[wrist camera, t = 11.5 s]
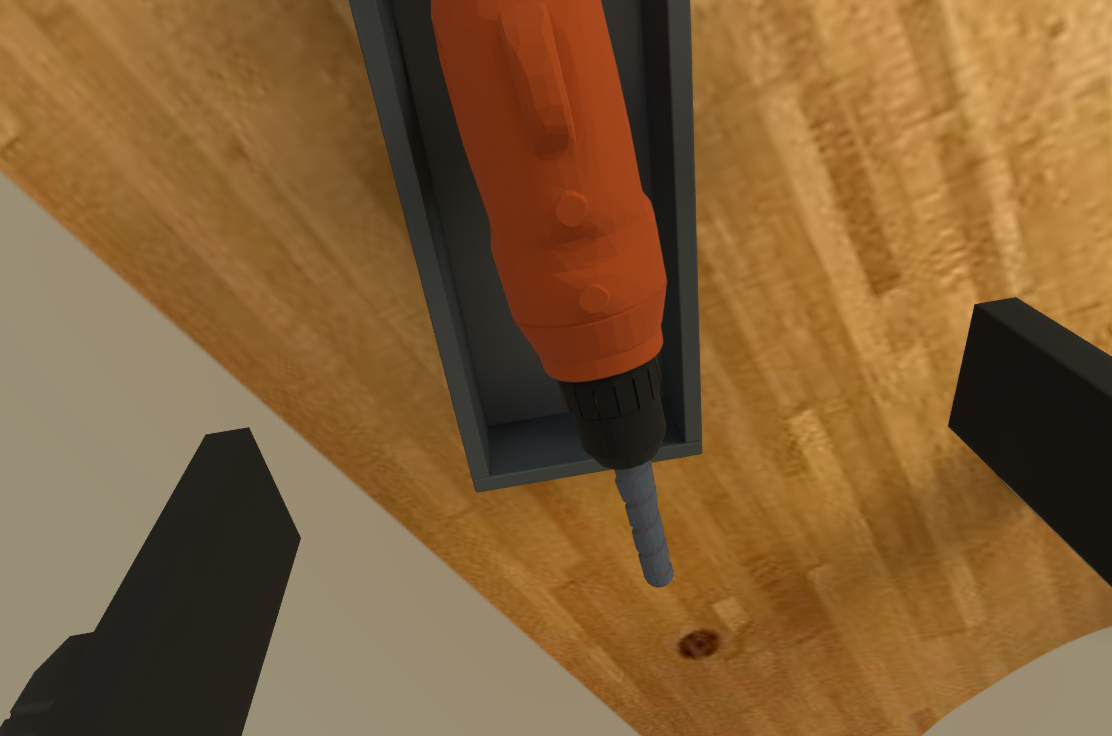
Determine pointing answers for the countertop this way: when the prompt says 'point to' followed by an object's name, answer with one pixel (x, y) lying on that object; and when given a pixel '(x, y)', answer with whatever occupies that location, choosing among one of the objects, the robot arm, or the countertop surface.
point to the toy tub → (465, 237)
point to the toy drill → (568, 223)
